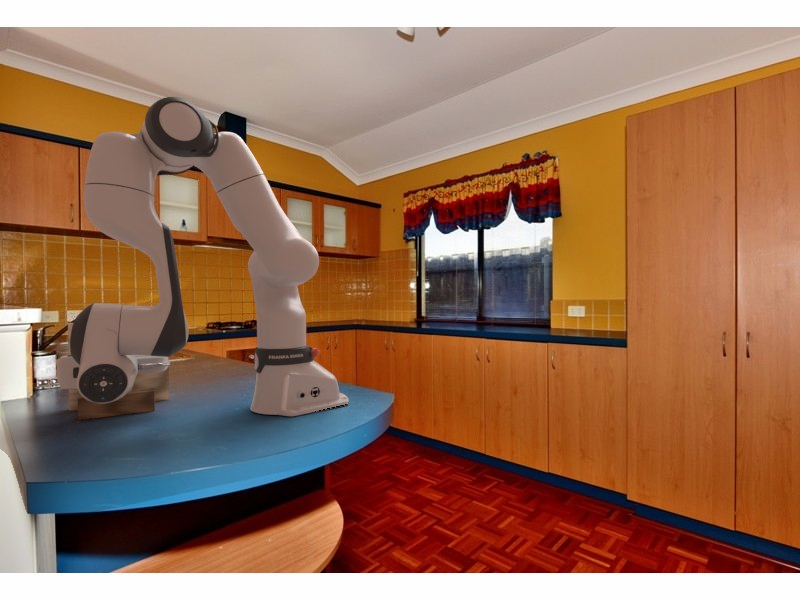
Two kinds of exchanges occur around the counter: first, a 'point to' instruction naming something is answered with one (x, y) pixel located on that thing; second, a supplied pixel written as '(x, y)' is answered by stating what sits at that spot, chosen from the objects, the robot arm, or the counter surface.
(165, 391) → the wall board
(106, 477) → the counter surface
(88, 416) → the cleat ledge
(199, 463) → the counter surface
